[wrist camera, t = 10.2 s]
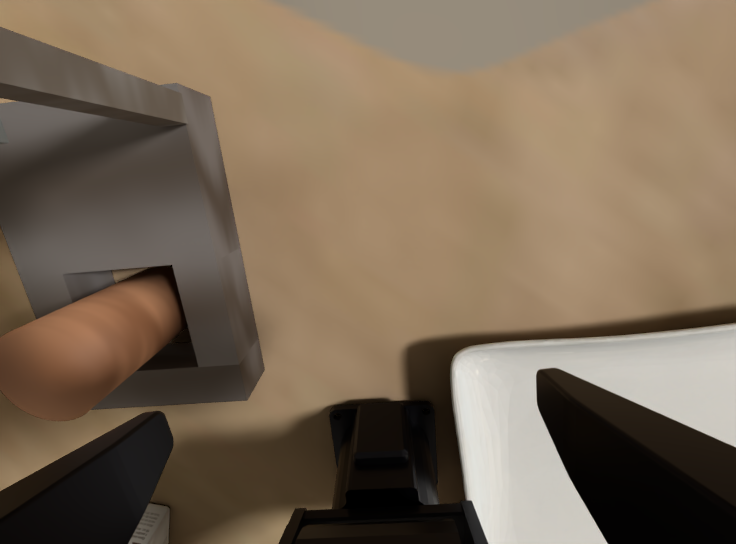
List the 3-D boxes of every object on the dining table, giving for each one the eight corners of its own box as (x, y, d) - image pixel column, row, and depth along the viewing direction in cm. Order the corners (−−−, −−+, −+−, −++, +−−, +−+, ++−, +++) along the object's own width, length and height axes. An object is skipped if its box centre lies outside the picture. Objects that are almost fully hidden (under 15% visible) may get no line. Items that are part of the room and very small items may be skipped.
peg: (207, 327, 21) (112, 418, 14) (143, 331, 22) (14, 423, 14) (192, 263, 20) (79, 323, 13) (124, 269, 20) (-28, 331, 13)
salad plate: (464, 577, 27) (475, 634, 24) (438, 325, 21) (448, 354, 18) (762, 557, 25) (818, 616, 22) (823, 278, 20) (913, 301, 16)
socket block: (280, 368, 22) (148, 634, 9) (96, 380, 23) (-252, 642, 10) (229, 94, 18) (-140, -82, 5) (3, 120, 18) (-802, 20, 6)
